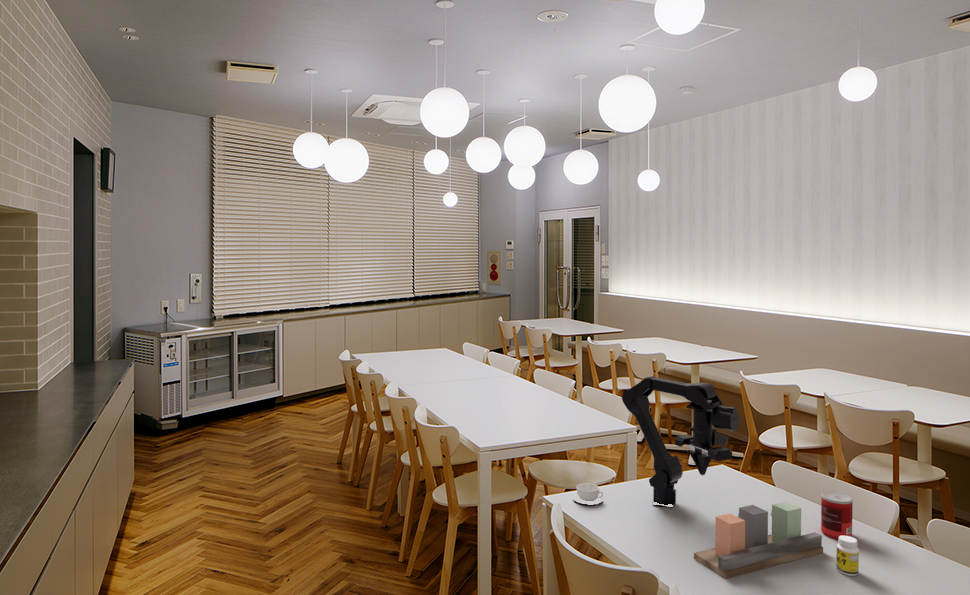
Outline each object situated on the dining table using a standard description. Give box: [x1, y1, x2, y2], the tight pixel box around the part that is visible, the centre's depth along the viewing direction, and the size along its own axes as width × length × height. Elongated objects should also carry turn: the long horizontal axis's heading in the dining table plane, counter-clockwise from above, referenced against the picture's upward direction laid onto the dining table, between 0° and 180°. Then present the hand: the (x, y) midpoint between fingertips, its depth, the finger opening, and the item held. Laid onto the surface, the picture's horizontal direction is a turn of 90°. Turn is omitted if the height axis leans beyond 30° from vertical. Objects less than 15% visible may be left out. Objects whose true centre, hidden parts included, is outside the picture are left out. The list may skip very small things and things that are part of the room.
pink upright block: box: [714, 513, 745, 556], centre depth 151 cm, size 6×5×10 cm
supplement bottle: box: [835, 535, 860, 577], centre depth 145 cm, size 5×5×8 cm
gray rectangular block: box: [737, 504, 769, 549], centre depth 156 cm, size 6×5×10 cm
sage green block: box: [770, 501, 802, 542], centre depth 158 cm, size 6×5×10 cm
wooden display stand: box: [693, 532, 824, 580], centre depth 154 cm, size 11×34×4 cm, turn 112°
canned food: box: [820, 491, 854, 541], centre depth 166 cm, size 8×8×11 cm
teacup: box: [576, 482, 604, 501], centre depth 193 cm, size 10×10×5 cm
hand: (702, 474), depth 179 cm, fingers closed
